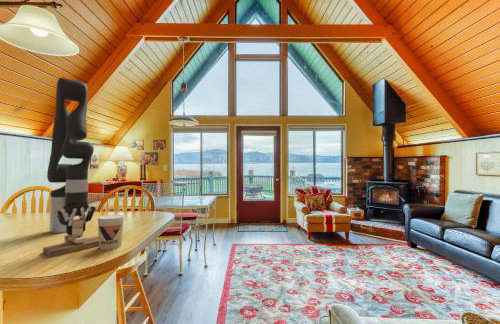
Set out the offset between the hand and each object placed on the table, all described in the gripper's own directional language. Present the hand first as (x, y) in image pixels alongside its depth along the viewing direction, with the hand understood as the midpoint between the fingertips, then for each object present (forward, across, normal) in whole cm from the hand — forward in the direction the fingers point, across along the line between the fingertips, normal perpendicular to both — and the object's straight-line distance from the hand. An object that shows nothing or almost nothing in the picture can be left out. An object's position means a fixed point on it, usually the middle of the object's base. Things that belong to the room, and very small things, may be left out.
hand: (75, 233), depth 98 cm
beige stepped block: (+4, 0, +1) cm, 4 cm away
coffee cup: (+5, -8, +11) cm, 15 cm away
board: (+5, 0, +2) cm, 6 cm away
